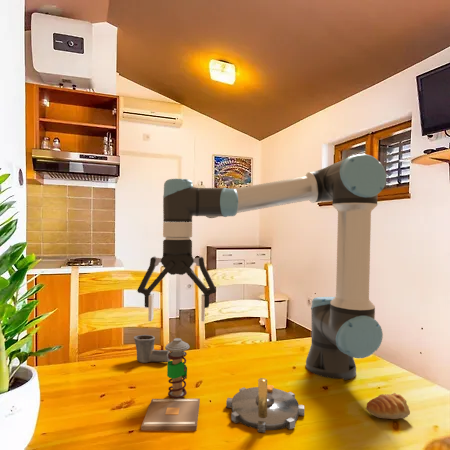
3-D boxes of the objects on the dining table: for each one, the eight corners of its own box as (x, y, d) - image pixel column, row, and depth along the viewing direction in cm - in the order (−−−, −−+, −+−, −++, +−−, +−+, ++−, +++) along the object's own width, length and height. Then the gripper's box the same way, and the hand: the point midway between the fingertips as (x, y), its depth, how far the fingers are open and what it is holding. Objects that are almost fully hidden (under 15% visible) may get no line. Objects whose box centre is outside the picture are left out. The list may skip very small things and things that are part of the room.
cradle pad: (199, 402, 88) (199, 398, 88) (196, 430, 76) (196, 425, 76) (152, 402, 88) (152, 398, 88) (141, 430, 76) (141, 425, 76)
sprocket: (233, 389, 95) (233, 352, 95) (303, 395, 91) (303, 357, 91) (219, 428, 77) (219, 382, 77) (305, 438, 73) (305, 390, 73)
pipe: (165, 367, 110) (165, 342, 110) (129, 363, 113) (129, 338, 113) (173, 360, 115) (173, 336, 115) (138, 356, 119) (138, 333, 119)
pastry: (377, 423, 78) (378, 407, 78) (359, 407, 85) (359, 391, 85) (412, 417, 80) (413, 401, 80) (392, 402, 87) (392, 387, 87)
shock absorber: (194, 395, 92) (194, 338, 92) (178, 405, 86) (179, 345, 86) (175, 388, 95) (176, 334, 95) (159, 398, 90) (160, 340, 90)
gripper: (225, 238, 95) (224, 316, 95) (133, 237, 94) (132, 316, 94) (225, 239, 87) (224, 324, 87) (125, 238, 87) (125, 323, 87)
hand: (177, 320), depth 91 cm, fingers open, 13 cm apart
